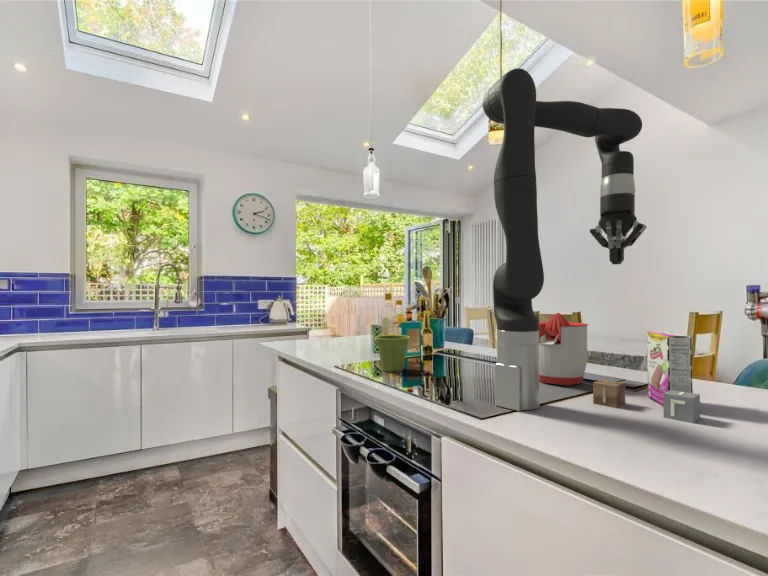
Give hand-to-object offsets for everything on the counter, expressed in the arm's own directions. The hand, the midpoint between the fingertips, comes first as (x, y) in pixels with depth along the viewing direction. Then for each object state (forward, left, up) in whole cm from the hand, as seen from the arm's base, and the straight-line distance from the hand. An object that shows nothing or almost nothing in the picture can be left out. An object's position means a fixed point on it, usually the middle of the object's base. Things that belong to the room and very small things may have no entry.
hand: (616, 264), depth 102 cm
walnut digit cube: (-9, -2, -33) cm, 34 cm away
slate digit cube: (-9, -16, -33) cm, 38 cm away
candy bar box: (+1, -11, -33) cm, 35 cm away
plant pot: (-20, +62, -33) cm, 74 cm away
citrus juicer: (+4, +17, -33) cm, 38 cm away
